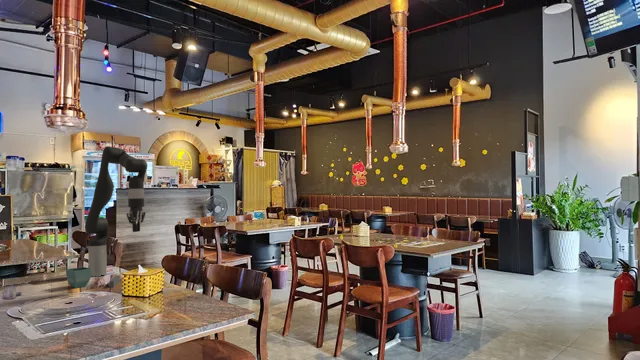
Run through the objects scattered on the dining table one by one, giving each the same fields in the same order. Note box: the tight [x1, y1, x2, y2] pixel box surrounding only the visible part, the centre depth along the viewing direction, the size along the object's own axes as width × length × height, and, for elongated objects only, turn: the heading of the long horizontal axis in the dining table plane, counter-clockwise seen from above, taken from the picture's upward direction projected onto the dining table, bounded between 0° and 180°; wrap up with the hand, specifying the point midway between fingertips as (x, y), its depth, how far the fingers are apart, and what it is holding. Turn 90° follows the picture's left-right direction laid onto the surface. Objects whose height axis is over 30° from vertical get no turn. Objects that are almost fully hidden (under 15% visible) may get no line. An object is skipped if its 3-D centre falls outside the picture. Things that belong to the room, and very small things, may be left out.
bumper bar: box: [108, 274, 121, 288], centre depth 212 cm, size 2×16×3 cm, turn 16°
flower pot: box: [65, 266, 92, 289], centre depth 208 cm, size 9×9×9 cm
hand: (136, 231), depth 211 cm, fingers closed
